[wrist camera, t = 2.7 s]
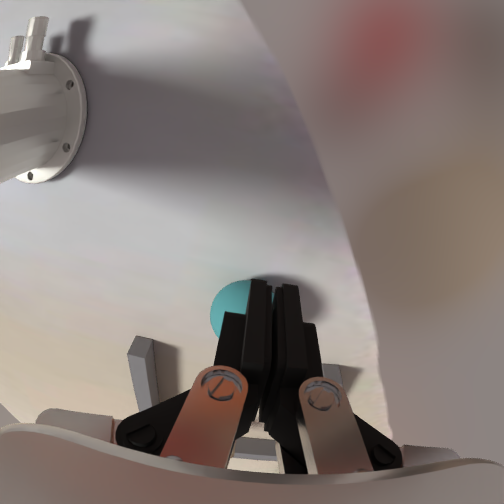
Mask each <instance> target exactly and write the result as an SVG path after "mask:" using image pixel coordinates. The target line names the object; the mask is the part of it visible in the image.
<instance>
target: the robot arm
mask: <svg viewBox="0 0 504 504" xmlns="http://www.w3.org/2000/svg"><path fill="white" fill-rule="evenodd" d="M48 21H49V18H48V17H43V16H40V17H34V18H31V19H29V22H28V27H27V32H26V37H25V39H26V43H25V49H24V52H22V53H21V50H22V47H23V41H24V36H15V37H12V38H11V42H10V47H9V58H8V61H7V62H5V67H3V68H0V184H1V183H3V182H5V181H7V180H10V179H12V178H14V177H15V178H16V179H18V180H20V181H22V182H25V183H29V184H38V183H42V182H45V181H48V180H50V179H52V178H54V177H56V176H57V175H58V174H60V173H61V172H62V171H63V170H64V169H65V168H66V167H67V166H68V165H69V164H70V163H71V161H72V159H73V158H74V156H75V155H76V153H77V151H78V148H79V146H80V144H81V142H82V138H83V134H84V131H85V125H86V118H87V99H86V93H85V87H84V84H83V81H82V78H81V76H80V74H79V73H78V71H77V69H76V67H75V66H74V65H73V64H72V63H71V62H70V61H69V60H68V59H66V58H64V57H63V56H61V55H58V54H54V53H46V51H44V50H42V47H43V41H44V37H45V36H46V31H47V26H48ZM259 405H260V407H259ZM258 408H259V422H263V423H264V431H267V432H269V435H270V436H271V437H272V438H273V439H275V440H276V441H275V448H276V455H277V461H278V467H279V473H280V474H276V473H261V472H249V471H240V470H231V469H227V467H228V464H229V461H230V457H231V454H232V451H233V448H234V444H235V441H236V440H237V439H238V438H240V437H241V436H243V435H244V434H246V433H248V432H249V428H250V425H251V422H252V421H255V418H256V415H257V411H258ZM0 504H504V466H503V465H502V464H499V463H497V462H494V461H491V460H486V459H480V458H460V456H459V455H458V454H457V453H456V452H455V451H454V450H452V449H449V448H437V447H424V446H412V445H403V446H402V447H398V446H397V445H396V444H395V443H394V442H393V441H392V440H390V439H389V438H387V437H386V436H385V435H383V434H382V433H380V432H379V431H377V430H376V429H375V428H373V427H372V426H370V425H369V424H368V423H366V422H365V421H364V420H362V419H361V418H359V417H358V416H357V415H355V414H354V413H353V411H352V408H351V406H350V403H349V400H348V397H347V395H346V393H345V391H344V389H343V388H342V387H341V386H340V385H339V384H338V383H337V382H335V381H333V380H332V379H328V378H325V377H324V376H323V370H322V363H321V357H320V350H319V344H318V338H317V332H316V327H315V324H314V323H305V322H303V320H302V312H301V304H300V296H299V288H298V286H297V285H290V284H282V287H276V289H275V293H274V298H273V302H272V286H269V285H267V281H263V280H256V279H251V284H250V290H249V296H248V301H247V307H246V313H245V314H240V313H234V312H227V311H225V313H224V317H223V322H222V327H221V332H220V336H219V341H218V346H217V351H216V356H215V361H214V366H211V367H208V368H205V369H204V370H203V371H201V372H200V373H199V374H198V376H197V377H196V379H195V381H194V383H193V386H192V388H191V389H190V390H188V391H185V392H183V393H181V394H179V395H177V396H175V397H173V398H170V399H168V400H166V401H164V402H162V403H159V404H157V405H155V406H152V407H150V408H148V409H146V410H143V411H141V412H138V413H136V414H134V415H131V416H129V417H127V418H126V419H124V420H116V419H113V416H105V415H96V414H89V413H81V412H75V411H68V410H62V409H48V410H45V411H43V412H42V413H41V414H40V415H39V416H38V418H37V420H36V423H35V424H34V423H18V424H10V425H6V426H3V427H1V428H0Z"/></svg>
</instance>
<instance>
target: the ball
mask: <svg viewBox="0 0 504 504" xmlns="http://www.w3.org/2000/svg"><path fill="white" fill-rule="evenodd" d="M250 284H251V281H249V280H242V281H237V282H234V283H231V284H229V285H227V286H226V287H224V288H223V289H222V290H221V291H220V292H219V293H218V294H217V296H216V297H215V299H214V301H213V303H212V306H211V311H210V320H211V325H212V328H213V330H214V332H215V334H216V336H217V337H218V338H219V336H220V332H221V327H222V322H223V317H224V313H225V311H227V312H234V313H240V314H245V313H246V307H247V301H248V296H249V290H250ZM273 298H274V293H273V292H272V302H273Z"/></svg>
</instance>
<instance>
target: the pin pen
mask: <svg viewBox="0 0 504 504" xmlns="http://www.w3.org/2000/svg"><path fill="white" fill-rule="evenodd" d="M127 356H128V362H129V367H130V372H131V377H132V382H133V386H134V391H135V395H136V400H137V404H138V408H139V412H141V411H143V410H146V409H148V408H150V407H152V406H155V405H157V404H159V403H160V402H159V394H158V386H157V378H156V369H155V360H154V349H153V339H148V338H144V337H139V336H136V337H135V339H134V341H133V343H132V345H131V347H130V349H129V351H128V353H127ZM322 370H323V376H324V377H325V378H328V379H332V380H333V381H335V382H337V383H338V384H339V385H340V386H341V387H342V386H343V383H342V378H341V373H340V368H339V365H332V364H322ZM275 441H276V440H266V439H255V438H245V437H240V438H238V439H237V440H236V444H235V454H234V458H243V459H253V460H266V461H277V455H276V448H275Z"/></svg>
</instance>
